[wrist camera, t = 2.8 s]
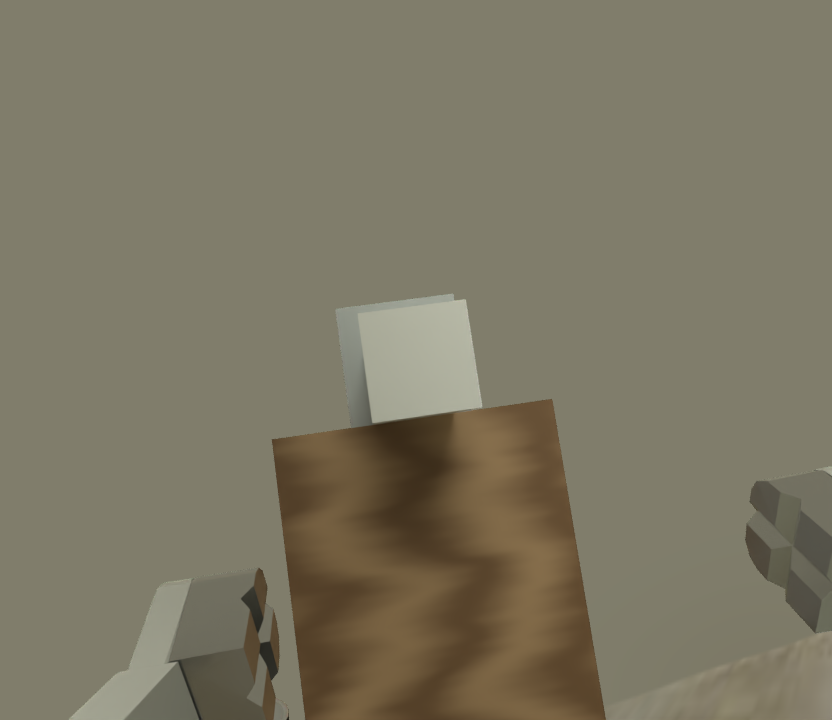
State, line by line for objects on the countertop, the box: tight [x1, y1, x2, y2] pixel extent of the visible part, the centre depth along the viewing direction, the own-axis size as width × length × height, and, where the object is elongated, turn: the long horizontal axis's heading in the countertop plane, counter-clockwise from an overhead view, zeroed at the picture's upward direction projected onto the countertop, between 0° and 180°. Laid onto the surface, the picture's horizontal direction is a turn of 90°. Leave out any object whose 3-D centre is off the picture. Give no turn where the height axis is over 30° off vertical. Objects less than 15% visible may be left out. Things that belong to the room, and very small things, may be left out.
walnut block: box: [272, 399, 606, 720], centre depth 35 cm, size 14×12×26 cm
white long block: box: [336, 294, 482, 428], centre depth 31 cm, size 17×6×6 cm, turn 4°
